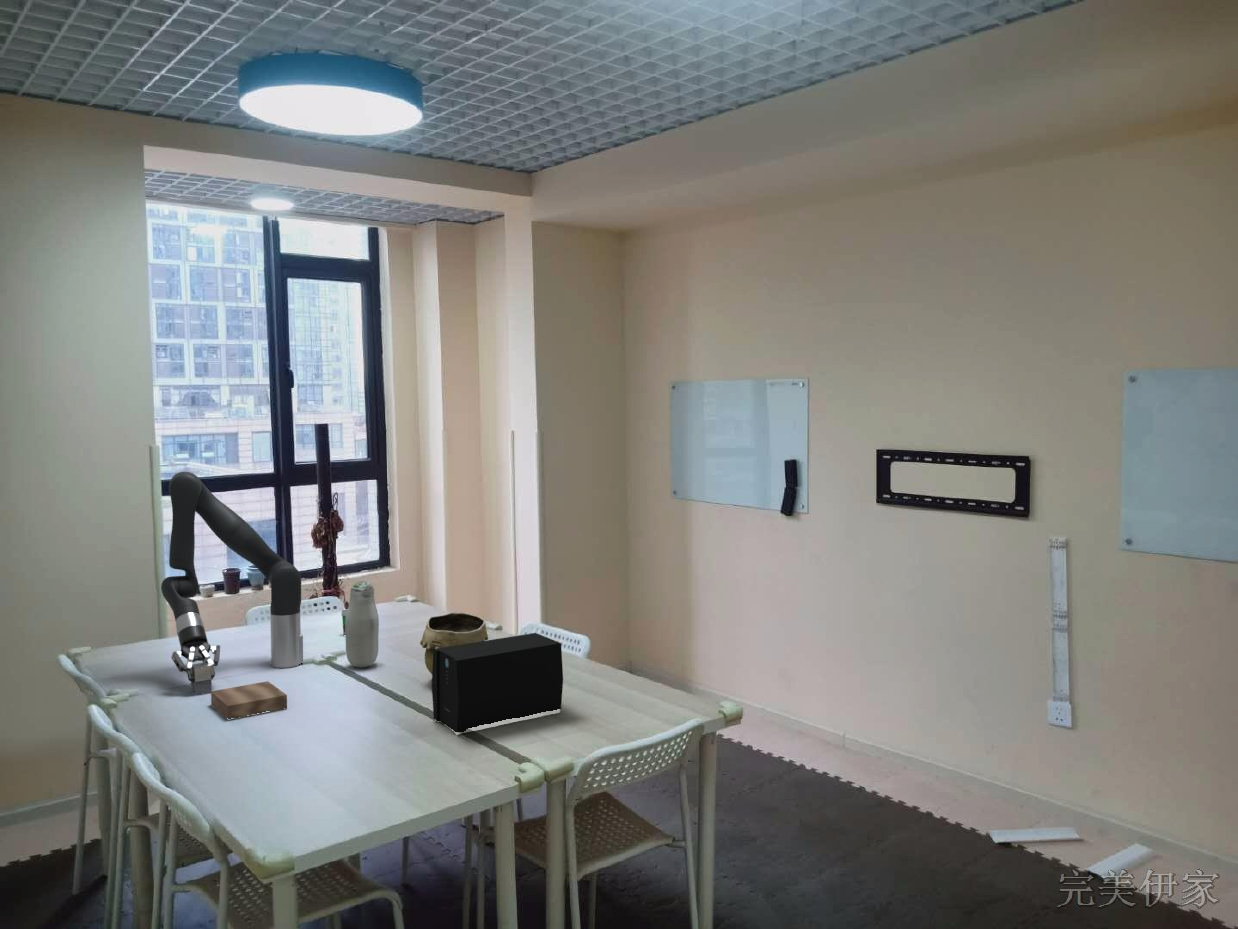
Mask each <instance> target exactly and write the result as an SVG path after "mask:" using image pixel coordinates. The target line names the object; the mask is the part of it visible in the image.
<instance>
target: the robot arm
mask: <svg viewBox="0 0 1238 929" xmlns="http://www.w3.org/2000/svg"><path fill="white" fill-rule="evenodd" d="M168 492H169V496H170V500H171V501H170V502H171V509H172V510H171V511H172V520H171V522H172V524H171V533H170V542H169V543H170V544H169V557H168V564H169V567H170V568H171V569H173V570H181V571H184V574H185V575H174V576H166V577H165V578H164V579H163V580H162V582H161V586H160V587H161V588H160V589H161V594H162V596H163V598H164V599H165V601H166V602H167V604H168V605H169V607H170V608H171V610H172V613H173V617H174V621H175V628H176V629H175V630H176V635H177V638H178V642H179V645H180V650H178V651H175V650H174V651H173V652H172V654H171V659H172V661H173V664H174V665H175V666H176V668H177V669H178V671H179V672H180V673H182V672H185V673H186V675H187V679H188V681H189V682H190V684H191V683H194V682H195V676H194V672H193V668H192V665H193V663H194V662H201V663H205V662H207V663H208V664H210V665H211V681H212V680H214V678H215V676H216V670H215V667H217V666H218V665H219V663H220V658H221V645H219V644H218V645H217V644H216V646H211V644H209V640H208V638H207V633H206V630H205V629H206V628H205V626H204V625H205V624H204V622H203V618H202V617H201V614H200V610H199V606H198V603H197V601H196V600H195V599H192V598H194V597H195V596H196V595H197V594H198V592H199V590H200V585H199V580H198V578H197V577H198V576H197V573H196V569H195V568H196V567H195V544H196V542H195V520H196V519H195V518H196V514H198V515H199V516H200V517H201V519H202V520H203V521H204V523H206V525H207V526H208V527H209V529H210V530H211V531H212V533H214V534H215V536H216V537H217V538H218V539H219V540H220V541H221V542H222V543H224V545H226V546H227V547H228V548H229V549H230V550H232V551H233V552H234V553H236V554H237V555H238V556H239V557H241V558H243V559H244V560H246V561H247V562H249V563H251V564H252V565H253V566H254V567H255V568H256V569H257V570H259V572H260V573H261V574H262V575H263V576H264V578H265V579H266V580H267V581H268V582H269V583H270V591H271V592H270V595H271V596H270V597H271V598H270V600H271V602H270V607H269V608H270V610H269V614H270V652H271V653H270V656H271V658H270V664H271V667H273V668H276V669H277V668H278V669H287V668H294V667H297V666H299V664H300V665H302V664H301V663H302V662H303V663H304V636H303V634H302V633H301V630H302V629H301V605H302V576H301V572H300V571H299V569H297V568H296V567H295V566H294V565H293V564H292V563H290V562H288V561H287V560H286V559H284V558H283V557H282V556H280V554H278V553H277V552H275V551H274V550H273V549H271V547H270V546H269V545H268V544H267V543H266V541H265V540H264V539H263V538H262V537H261V535H260V534H259V533H258V532H257V531H256V530H255V529H254V528H253V527H252V526H251V525H250V524H249V523H248V522H247V521H245V520H244V518H242V517H241V516H240V515H238V514H237V513H236V512H235V511H234V510H233V509H231V508H230V507H229V506H227V505H226V504H225V503H223V502H222V501H221V500H220V499H219V498H217V497H216V496H215V495H214V494H213V493H212V491H210V489H208V487H207V486H206V485H205V484H204V483H203V481H201V479H200V478H199V477H198V475H197V474H195V473H193V472H190V471H179V472H176V473H175V474H173V476H172V477H171V479H170V481H169V485H168ZM210 651H211V653H212V654H213V656H214V657H213V660H212V658H211V656H210V654H209V652H210ZM181 657H183V658H185V659H187V661H186V662H187V663H186V664H185V663H184V661H183V660H182V659H181Z"/></svg>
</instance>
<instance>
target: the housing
mask: <svg viewBox="0 0 1238 929" xmlns="http://www.w3.org/2000/svg"><path fill="white" fill-rule="evenodd" d="M192 668H193V672H194V676H195V682H194V683H191V682H190V691H191V692H192V694H193V693H194V694H193V695H195V696H198V694H199V695H203V694H202V693H205V694H209V693H210V694H211V691H213V689H212V686H213V685H212V684H213V683H212V680H211V665H210V664H208V663H207V662H205V663H203V662H200V663H192Z"/></svg>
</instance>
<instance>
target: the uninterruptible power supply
mask: <svg viewBox="0 0 1238 929" xmlns="http://www.w3.org/2000/svg"><path fill="white" fill-rule="evenodd" d="M563 685H564V668H563V653H562V643H561V642H559V641H557V640H554V639H552V638H550V637H547V636H545V635H542V634H540V633H538V632H534V633H526V634H520V635H519V634H518V635H513V636H508V637H507V636H506V637H499V638H494V639H490V640H489V639H488V640H485V641H481V642H474V643H468V644H462V645H455V646H449V647H443V648H436V649H433V669H432V674H431V696H432V712H433V713H432V714H433V720H434V719H436V720H437V721H441V722H442V723H443V724H446V725H447V726H448V727H450V728H451V729H453V730H454V731H455V732H464V731H466V729H468V728H472V727H477V726H479V725H484V724H491V723H494V722H498V721H502V720H506V719H512V718H520V717H525V716H529V715H533V714H537V713H541V712H546V711H553V710H557V709H561V710H562V700H563V699H562V698H563V687H564V686H563ZM443 724H442V725H443Z"/></svg>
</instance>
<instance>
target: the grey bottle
mask: <svg viewBox="0 0 1238 929" xmlns="http://www.w3.org/2000/svg"><path fill="white" fill-rule="evenodd" d="M349 596H350V597H349V602H348V608H347V609H346V610H347V613H346V619H345V633H346V636H345V654H346V658H347V660H348V662H349V664H350V665H351V666H353V667H356V668H359V667H363V668H368V667H367V666H369V667H370V665H371V666H372V665H374V664H375V663H376V661H377V658H378V655H379V633H380V631H379V630H380V628H379V627H380V619H379V613H378V609H377V604H376V599H375V587H374V586H373V584H372V583H371V582H368V581H362V580H361V581H357V582H354V583H353V584H352V585H351V588H350V593H349Z"/></svg>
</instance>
